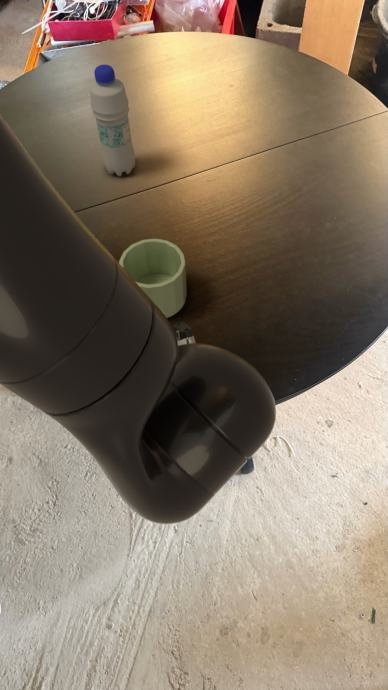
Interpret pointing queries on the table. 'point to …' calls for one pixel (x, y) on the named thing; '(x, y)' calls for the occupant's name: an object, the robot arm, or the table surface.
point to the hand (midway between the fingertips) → (123, 345)
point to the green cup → (158, 272)
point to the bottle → (112, 120)
